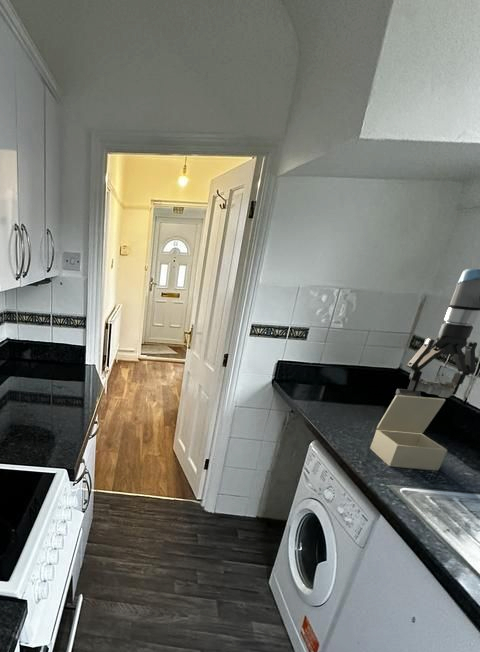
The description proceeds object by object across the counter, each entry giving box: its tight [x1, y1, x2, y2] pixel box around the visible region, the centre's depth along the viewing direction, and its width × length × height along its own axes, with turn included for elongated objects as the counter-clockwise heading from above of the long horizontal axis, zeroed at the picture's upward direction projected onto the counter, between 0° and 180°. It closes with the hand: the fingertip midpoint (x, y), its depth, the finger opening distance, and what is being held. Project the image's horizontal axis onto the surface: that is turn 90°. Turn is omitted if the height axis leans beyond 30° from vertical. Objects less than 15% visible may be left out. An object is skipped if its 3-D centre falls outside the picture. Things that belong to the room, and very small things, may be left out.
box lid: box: [376, 388, 446, 434], centre depth 146 cm, size 14×16×8 cm
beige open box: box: [369, 429, 448, 471], centre depth 144 cm, size 14×16×8 cm
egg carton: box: [416, 378, 457, 399], centre depth 133 cm, size 11×8×4 cm
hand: (431, 391), depth 134 cm, fingers closed on egg carton, 12 cm apart
